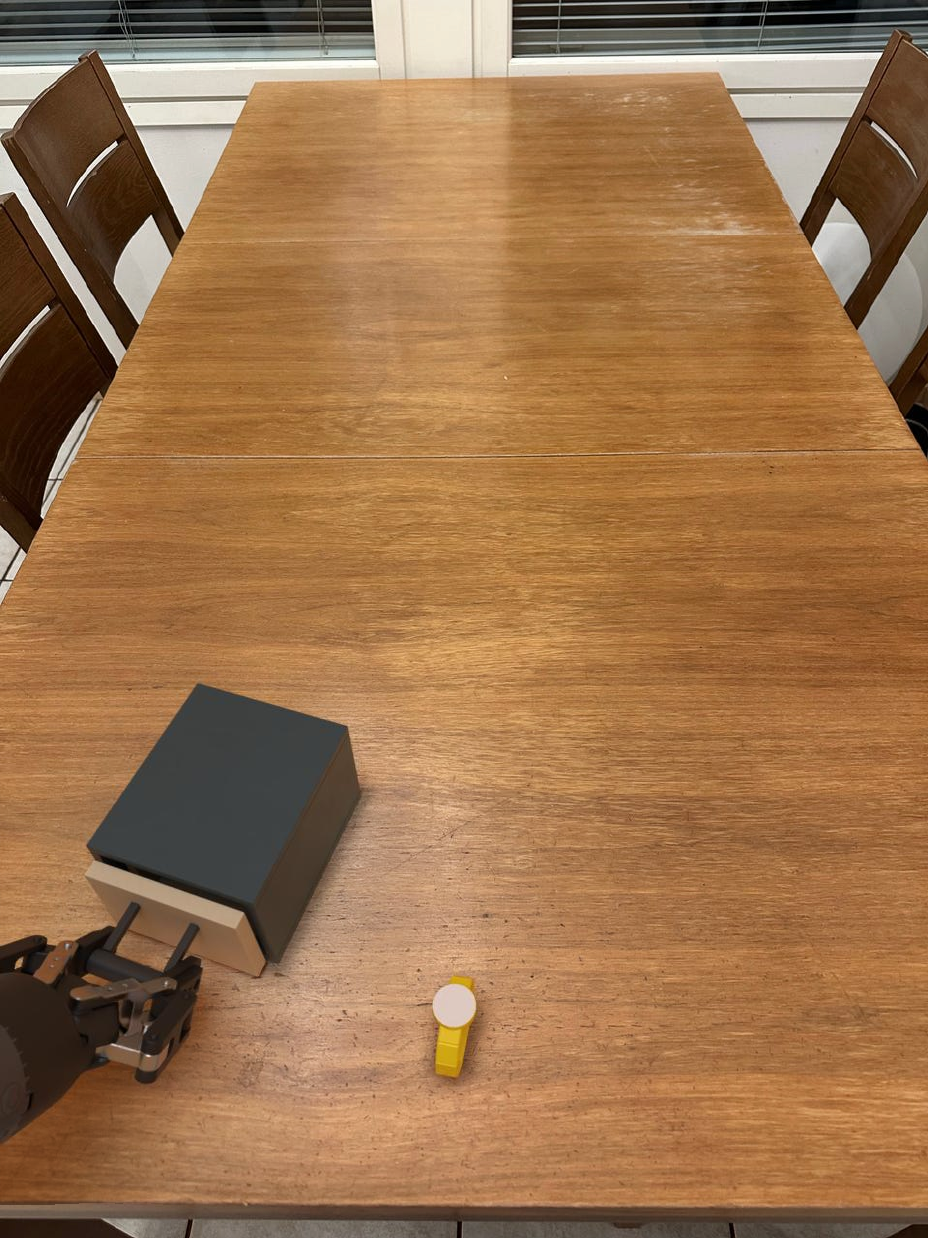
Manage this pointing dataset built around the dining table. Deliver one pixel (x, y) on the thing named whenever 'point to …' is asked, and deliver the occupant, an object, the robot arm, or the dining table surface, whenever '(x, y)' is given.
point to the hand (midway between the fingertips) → (153, 955)
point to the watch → (453, 1023)
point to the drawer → (169, 923)
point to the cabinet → (238, 807)
